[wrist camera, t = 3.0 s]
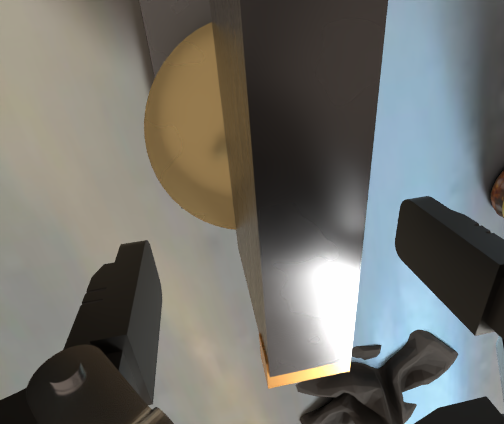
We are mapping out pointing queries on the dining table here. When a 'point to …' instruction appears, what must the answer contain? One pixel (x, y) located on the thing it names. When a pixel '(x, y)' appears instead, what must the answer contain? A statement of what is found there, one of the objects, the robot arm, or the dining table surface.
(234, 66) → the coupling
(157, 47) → the grey base fixture
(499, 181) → the sauce bottle
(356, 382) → the cloth
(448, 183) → the dining table surface
